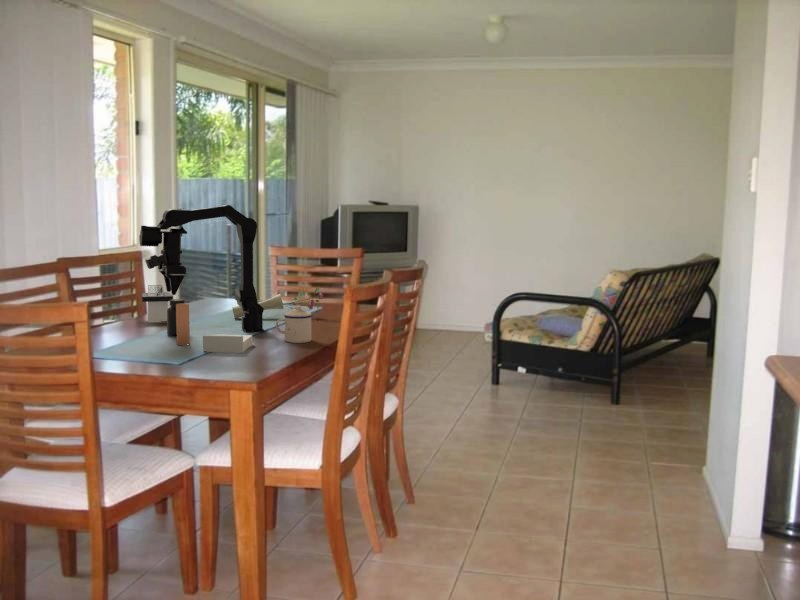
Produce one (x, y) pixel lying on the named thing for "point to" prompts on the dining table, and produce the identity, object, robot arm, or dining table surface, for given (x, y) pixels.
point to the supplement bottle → (172, 316)
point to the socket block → (226, 343)
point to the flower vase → (277, 304)
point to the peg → (182, 324)
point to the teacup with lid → (297, 326)
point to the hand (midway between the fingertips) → (171, 293)
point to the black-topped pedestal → (157, 304)
